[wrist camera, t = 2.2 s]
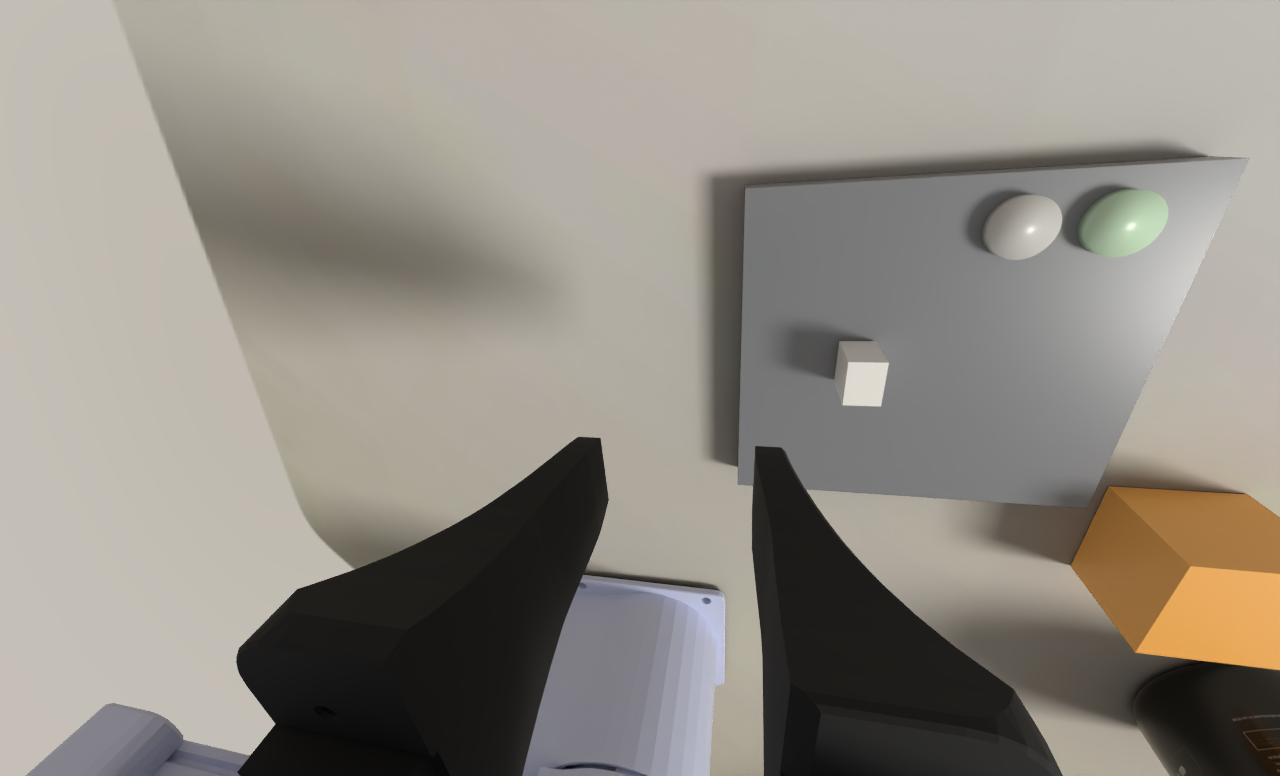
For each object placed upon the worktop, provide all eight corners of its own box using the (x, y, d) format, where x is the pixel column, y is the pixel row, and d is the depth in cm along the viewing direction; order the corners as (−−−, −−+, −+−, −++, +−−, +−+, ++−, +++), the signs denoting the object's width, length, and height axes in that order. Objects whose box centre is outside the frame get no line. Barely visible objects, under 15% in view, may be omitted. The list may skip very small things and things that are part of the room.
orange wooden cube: (1070, 565, 21) (1134, 652, 17) (1108, 486, 19) (1190, 566, 15) (1193, 577, 20) (1288, 671, 16) (1248, 494, 18) (1369, 581, 14)
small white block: (834, 381, 18) (842, 405, 16) (839, 340, 17) (848, 361, 15) (869, 381, 17) (881, 406, 16) (875, 341, 17) (889, 362, 15)
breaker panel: (738, 467, 22) (737, 492, 20) (745, 185, 16) (745, 190, 15) (1068, 487, 19) (1095, 517, 18) (1211, 156, 14) (1268, 159, 12)
